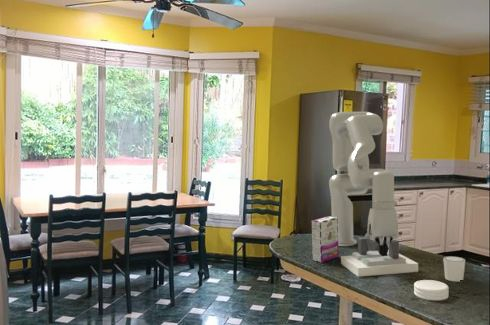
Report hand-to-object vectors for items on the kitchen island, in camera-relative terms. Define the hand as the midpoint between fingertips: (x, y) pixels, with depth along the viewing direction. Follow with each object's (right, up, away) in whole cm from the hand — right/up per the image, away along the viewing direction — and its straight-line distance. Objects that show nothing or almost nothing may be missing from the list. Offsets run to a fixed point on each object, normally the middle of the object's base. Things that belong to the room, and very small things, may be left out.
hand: (383, 254), depth 169 cm
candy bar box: (-18, -5, +17) cm, 26 cm away
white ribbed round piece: (+8, -8, -25) cm, 27 cm away
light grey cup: (+21, -6, -10) cm, 24 cm away
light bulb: (+2, -5, +21) cm, 21 cm away
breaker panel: (-1, -6, +4) cm, 7 cm away
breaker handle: (+4, -1, +1) cm, 4 cm away
